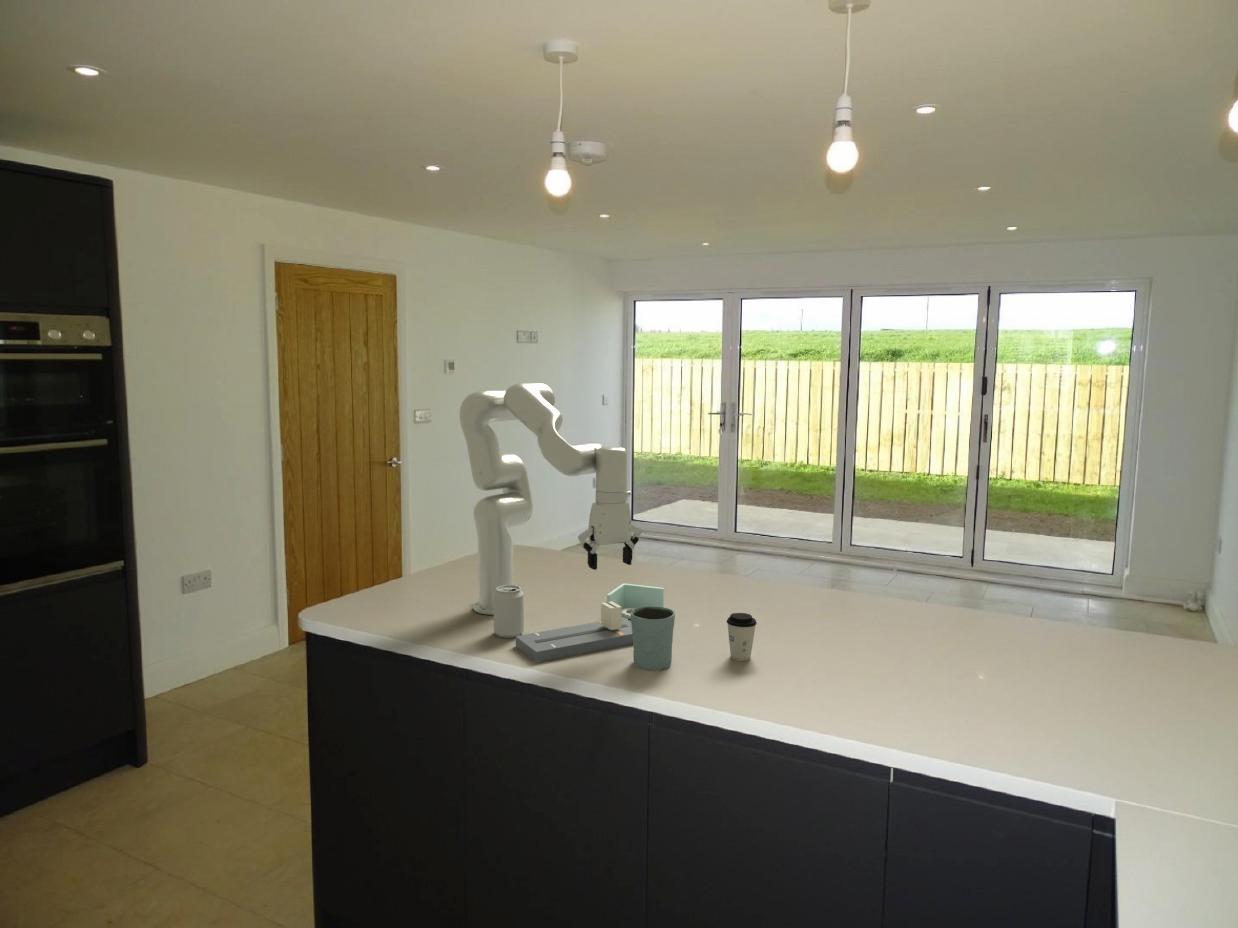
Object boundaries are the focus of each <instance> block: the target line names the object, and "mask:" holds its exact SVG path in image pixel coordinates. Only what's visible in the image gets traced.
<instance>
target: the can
mask: <svg viewBox="0 0 1238 928" xmlns="http://www.w3.org/2000/svg"><path fill="white" fill-rule="evenodd" d="M524 595H525V594H524V592H523V591H522V587H521V586H519V585H516V584H514V585H503V586H499V587H497V588H496V592H495V593H494V595H493V602H494V615H493V633H494V634H495V635H496V636H498V637H500V638H503V639H504V638H505V639H511V638H512V639H513V638H516V636H520V635H522V633H524V631H525V608H524V607H525V606H524V605H525V596H524Z"/></svg>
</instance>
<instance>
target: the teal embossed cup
mask: <svg viewBox="0 0 1238 928" xmlns="http://www.w3.org/2000/svg"><path fill="white" fill-rule="evenodd" d="M675 618H676V612H675V611H674V610H673V609H671V608H668V607H665V606H664V607H654V606H649V607H640V608H636V609H634V610H632V611H631V620H630V621H631V625H632V634H633V644H632V645H633V652H632V654H633V664H634V666H635V667H636V668H637V669H640V670H641V669H642V670H645V671H661V670H665V669H666V670H667V669H668V668H670V666H671V665H672V657H673V652H672V650H673V641H674V640H673V639H674V627H675Z"/></svg>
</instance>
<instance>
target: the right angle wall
mask: <svg viewBox="0 0 1238 928" xmlns="http://www.w3.org/2000/svg"><path fill="white" fill-rule="evenodd" d="M611 601H612V602H614V603H616V604H617V605H619V606H621V607H622V617H624V618H625V619H631V611H632V610H634V609H636V608H640V607H649V606H654V607H664V608H665V588H664V587H660V586H652V585H651V586H650V585H642V584H632V583H625V582H624V583H622V584H621V583H620V585H619V586H617V587H616V588H614V589H613V590H612V591H610V592H609V593H607V594H606V602H611Z"/></svg>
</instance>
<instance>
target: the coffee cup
mask: <svg viewBox="0 0 1238 928" xmlns="http://www.w3.org/2000/svg"><path fill="white" fill-rule="evenodd" d="M726 624H727V632H728V643H729V652H730V658H731V660H733V661H737V662H745V661H746V662H747V661H749V660H751V657H752V650H753V645H754V637H755V632H756V631H755V630H756V625H757V624H758V622H757V620H756V619H755V618H754V617H753V615H751V614H750V613H747V612H746V613H745V612H733V613H731V614H730V615H729V617H727V619H726Z"/></svg>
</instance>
